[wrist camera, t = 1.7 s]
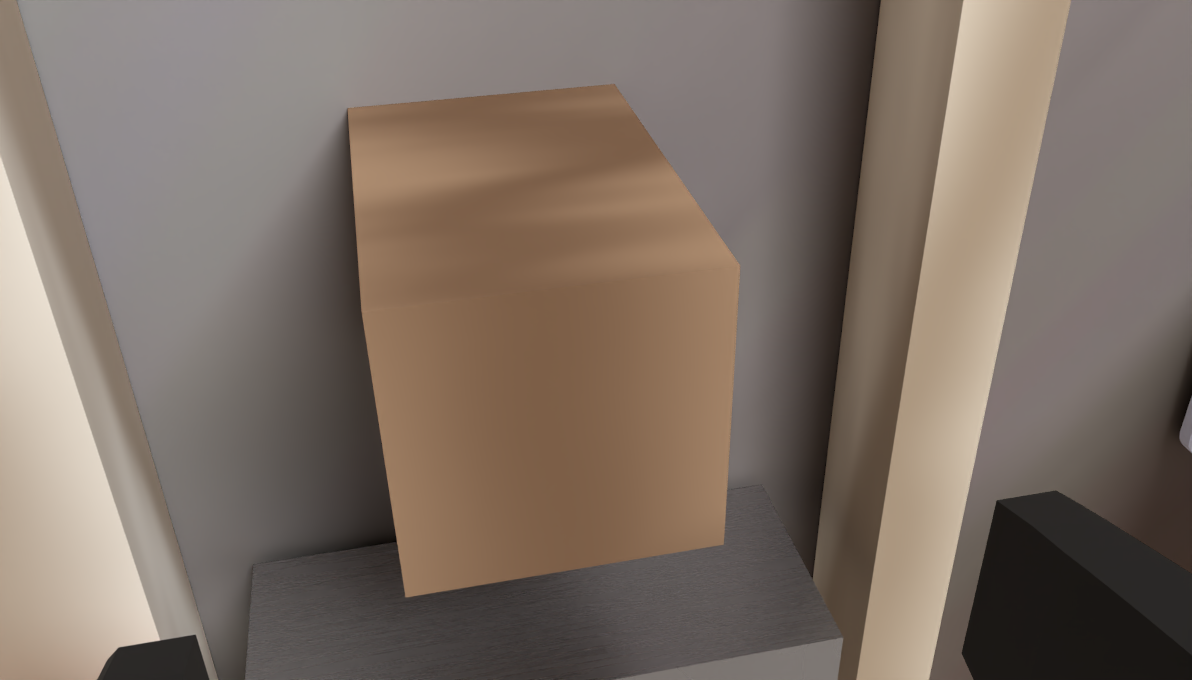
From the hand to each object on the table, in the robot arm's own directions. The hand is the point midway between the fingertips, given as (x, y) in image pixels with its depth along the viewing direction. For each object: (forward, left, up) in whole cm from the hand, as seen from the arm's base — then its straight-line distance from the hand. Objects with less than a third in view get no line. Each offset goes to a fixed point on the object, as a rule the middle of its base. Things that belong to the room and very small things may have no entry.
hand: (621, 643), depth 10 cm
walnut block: (0, 0, -9) cm, 9 cm away
